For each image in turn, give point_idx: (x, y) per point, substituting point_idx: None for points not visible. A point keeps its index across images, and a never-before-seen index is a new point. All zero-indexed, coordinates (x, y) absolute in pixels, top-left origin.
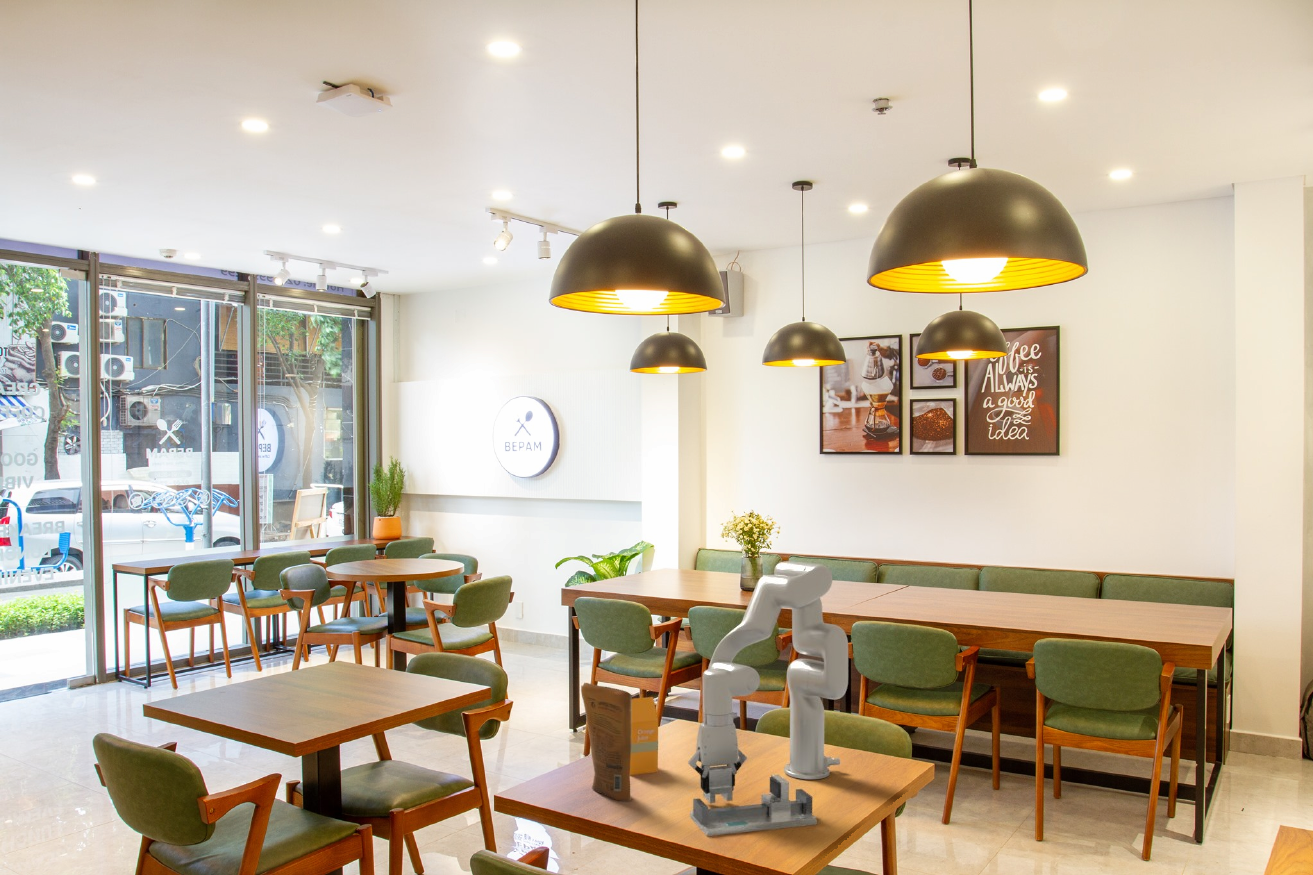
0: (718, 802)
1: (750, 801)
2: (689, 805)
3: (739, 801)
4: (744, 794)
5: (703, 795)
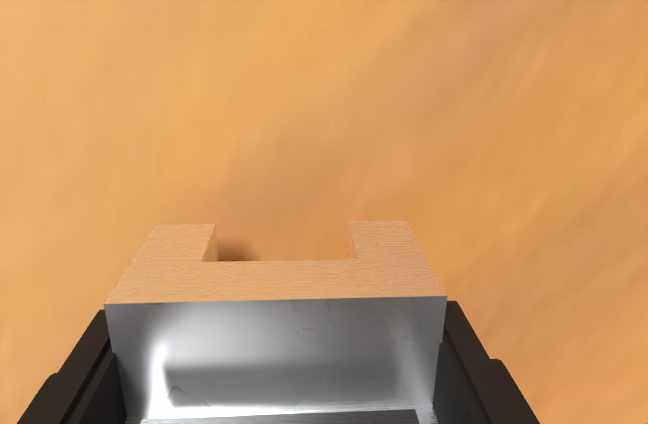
0: (315, 216)
1: (586, 254)
2: (23, 228)
3: (502, 234)
4: (644, 74)
5: (153, 233)
